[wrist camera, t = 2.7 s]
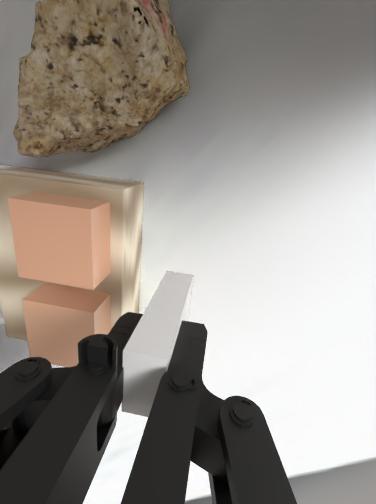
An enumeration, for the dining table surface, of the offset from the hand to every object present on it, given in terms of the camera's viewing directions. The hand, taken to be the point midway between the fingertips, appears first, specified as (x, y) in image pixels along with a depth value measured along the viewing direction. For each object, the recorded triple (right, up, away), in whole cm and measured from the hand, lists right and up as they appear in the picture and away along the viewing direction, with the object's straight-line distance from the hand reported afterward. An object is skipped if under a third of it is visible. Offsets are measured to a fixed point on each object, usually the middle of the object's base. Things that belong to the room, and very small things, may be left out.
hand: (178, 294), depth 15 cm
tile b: (-9, -3, +10) cm, 14 cm away
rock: (-6, +17, +7) cm, 19 cm away
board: (-10, +2, +13) cm, 17 cm away
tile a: (-9, +4, +7) cm, 12 cm away
